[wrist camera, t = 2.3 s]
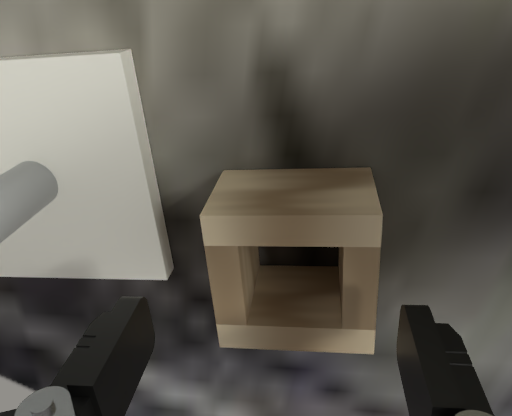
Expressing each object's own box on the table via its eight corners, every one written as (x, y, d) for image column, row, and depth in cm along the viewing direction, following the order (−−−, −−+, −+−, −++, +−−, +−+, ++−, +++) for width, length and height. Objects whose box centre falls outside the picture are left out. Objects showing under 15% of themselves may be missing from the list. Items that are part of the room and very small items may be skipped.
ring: (370, 167, 17) (382, 215, 14) (364, 288, 20) (374, 354, 16) (223, 170, 18) (199, 215, 15) (237, 285, 21) (219, 347, 17)
